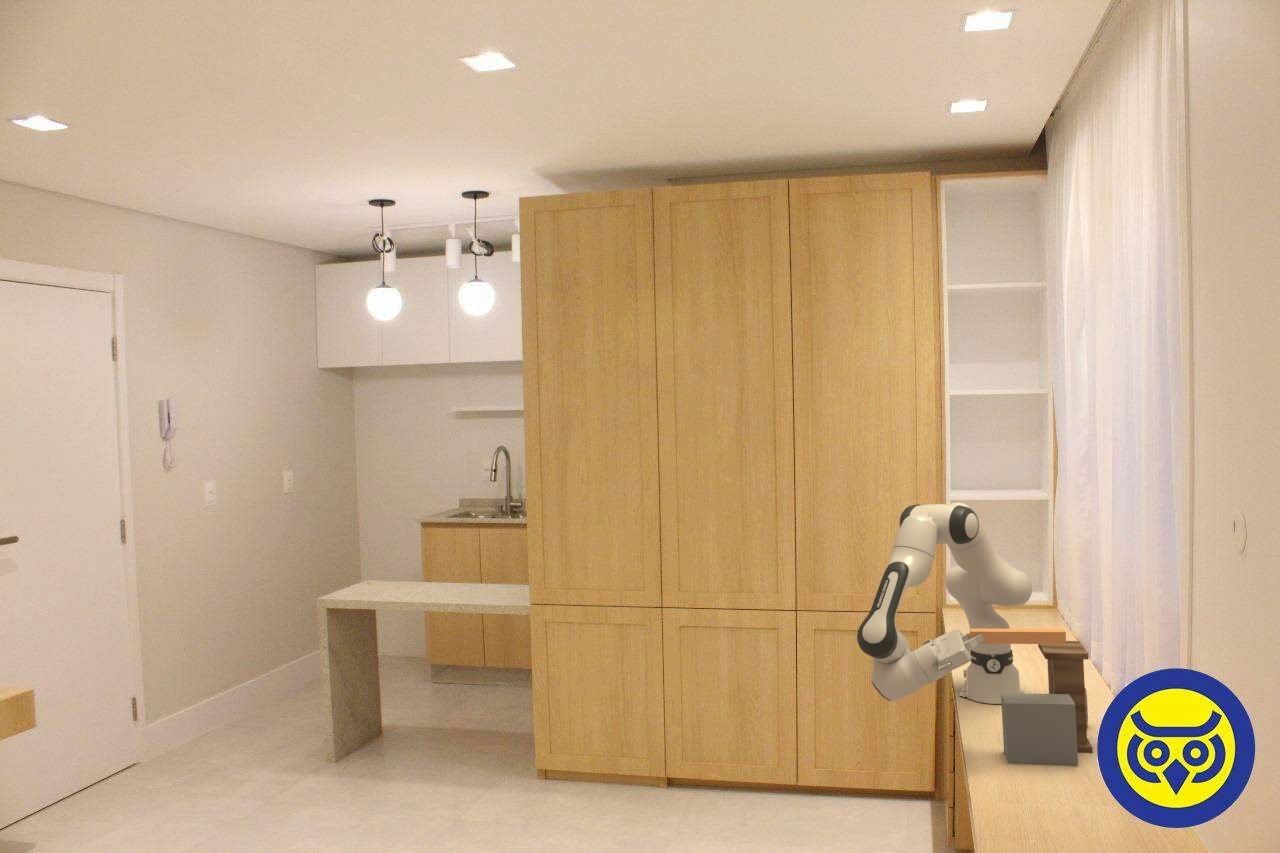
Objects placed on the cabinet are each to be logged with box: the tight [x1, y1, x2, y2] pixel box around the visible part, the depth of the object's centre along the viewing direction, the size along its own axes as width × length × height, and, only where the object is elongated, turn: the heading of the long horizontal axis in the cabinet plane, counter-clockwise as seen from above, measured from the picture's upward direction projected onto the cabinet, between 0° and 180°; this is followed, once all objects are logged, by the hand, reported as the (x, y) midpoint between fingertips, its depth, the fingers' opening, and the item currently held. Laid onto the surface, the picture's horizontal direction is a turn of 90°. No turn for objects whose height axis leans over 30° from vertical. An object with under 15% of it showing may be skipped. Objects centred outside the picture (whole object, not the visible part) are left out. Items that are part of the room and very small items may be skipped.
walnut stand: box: [1037, 640, 1094, 754], centre depth 248 cm, size 12×10×25 cm
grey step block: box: [1001, 692, 1079, 767], centre depth 240 cm, size 8×16×15 cm, turn 76°
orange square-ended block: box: [969, 628, 1067, 645], centre depth 240 cm, size 3×22×3 cm, turn 76°
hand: (981, 634), depth 242 cm, fingers closed on orange square-ended block, 3 cm apart
